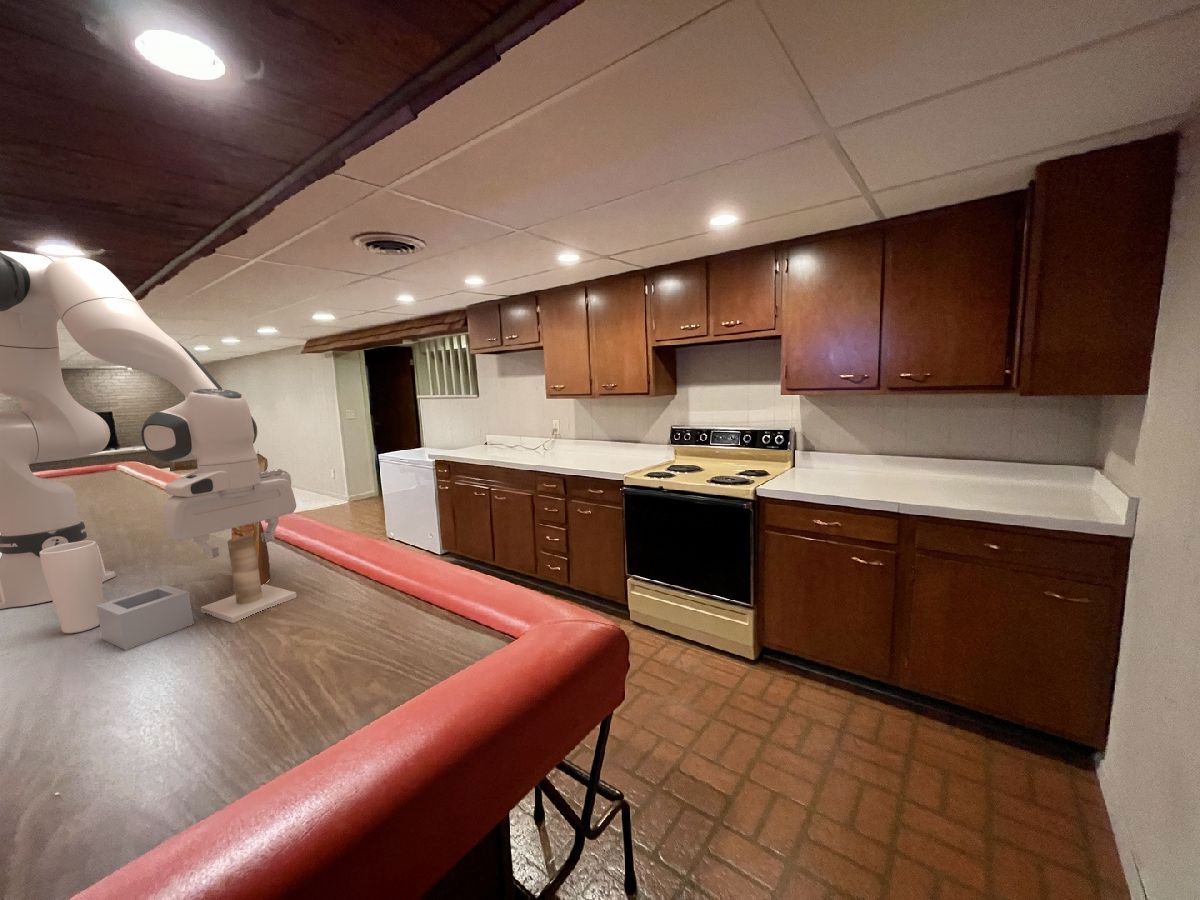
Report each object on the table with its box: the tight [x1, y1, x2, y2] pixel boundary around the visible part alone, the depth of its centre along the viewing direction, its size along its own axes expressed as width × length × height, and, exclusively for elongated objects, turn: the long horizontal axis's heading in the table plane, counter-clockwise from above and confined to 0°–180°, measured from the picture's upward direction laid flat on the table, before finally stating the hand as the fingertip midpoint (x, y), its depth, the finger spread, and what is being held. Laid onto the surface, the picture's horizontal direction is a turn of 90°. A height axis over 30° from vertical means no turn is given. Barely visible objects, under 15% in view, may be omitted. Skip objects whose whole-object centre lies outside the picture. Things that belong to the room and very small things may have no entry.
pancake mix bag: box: [231, 453, 271, 585], centre depth 103 cm, size 7×19×28 cm, turn 48°
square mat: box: [200, 584, 297, 624], centre depth 90 cm, size 11×11×1 cm
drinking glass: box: [39, 540, 104, 634], centre depth 83 cm, size 7×7×15 cm
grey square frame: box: [96, 584, 195, 651], centre depth 81 cm, size 9×9×6 cm
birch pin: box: [227, 536, 262, 604], centre depth 89 cm, size 4×4×12 cm
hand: (241, 548), depth 89 cm, fingers open, 8 cm apart
